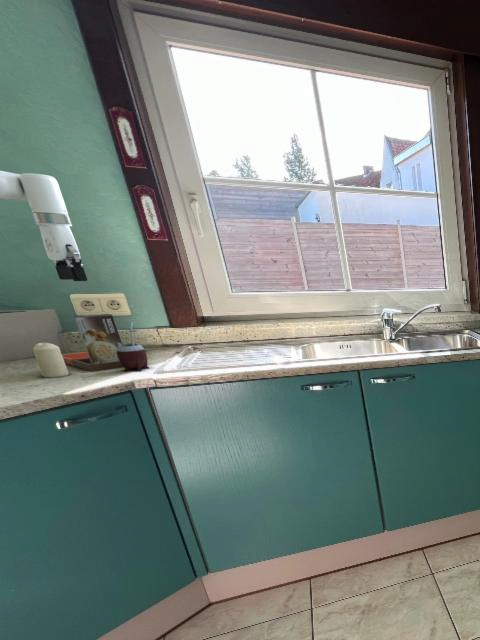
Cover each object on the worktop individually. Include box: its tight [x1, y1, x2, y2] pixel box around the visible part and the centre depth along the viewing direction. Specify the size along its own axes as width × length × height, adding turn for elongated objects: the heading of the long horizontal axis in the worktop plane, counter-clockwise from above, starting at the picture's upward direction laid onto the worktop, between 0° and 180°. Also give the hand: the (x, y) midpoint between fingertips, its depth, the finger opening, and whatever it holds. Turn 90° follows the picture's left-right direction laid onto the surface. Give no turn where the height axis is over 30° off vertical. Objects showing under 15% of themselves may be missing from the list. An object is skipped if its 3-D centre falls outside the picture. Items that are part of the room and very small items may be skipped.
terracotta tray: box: [62, 351, 89, 366], centre depth 172 cm, size 14×11×2 cm
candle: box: [32, 341, 69, 378], centre depth 150 cm, size 6×6×10 cm
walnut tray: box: [73, 358, 124, 372], centre depth 166 cm, size 14×13×2 cm
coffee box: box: [73, 313, 124, 364], centre depth 163 cm, size 9×6×16 cm
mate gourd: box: [116, 320, 150, 372], centre depth 159 cm, size 8×8×15 cm
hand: (73, 280), depth 154 cm, fingers open, 9 cm apart
